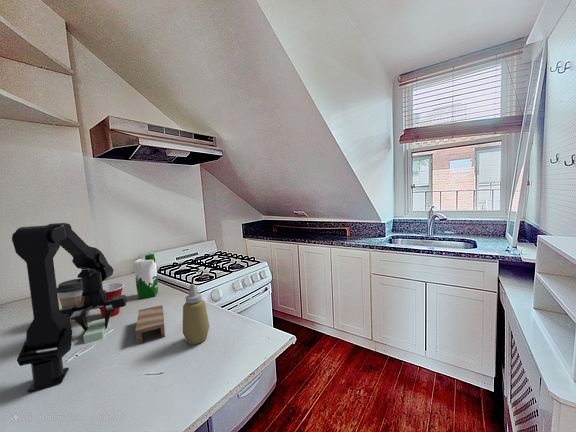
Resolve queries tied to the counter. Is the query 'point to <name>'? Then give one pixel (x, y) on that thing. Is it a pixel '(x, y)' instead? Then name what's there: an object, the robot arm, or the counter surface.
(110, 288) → the plastic cup
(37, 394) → the counter surface
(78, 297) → the coffee cup
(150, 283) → the milk carton
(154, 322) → the bench
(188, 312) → the squeeze bottle
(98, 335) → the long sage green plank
